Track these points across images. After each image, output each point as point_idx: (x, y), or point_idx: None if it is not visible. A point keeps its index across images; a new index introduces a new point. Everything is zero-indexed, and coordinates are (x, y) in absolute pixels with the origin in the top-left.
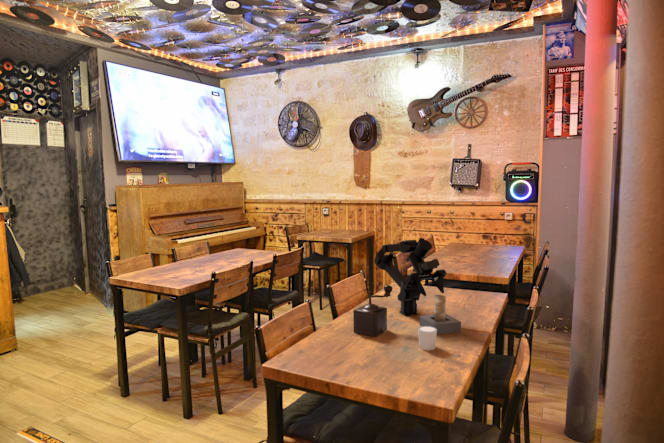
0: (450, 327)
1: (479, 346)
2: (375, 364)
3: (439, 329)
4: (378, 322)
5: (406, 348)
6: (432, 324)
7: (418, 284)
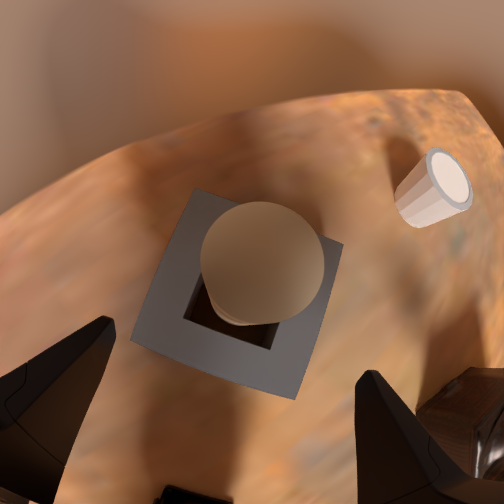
0: None
1: (277, 104)
2: None
3: None
4: (490, 379)
5: (456, 242)
6: (337, 265)
7: (458, 471)
